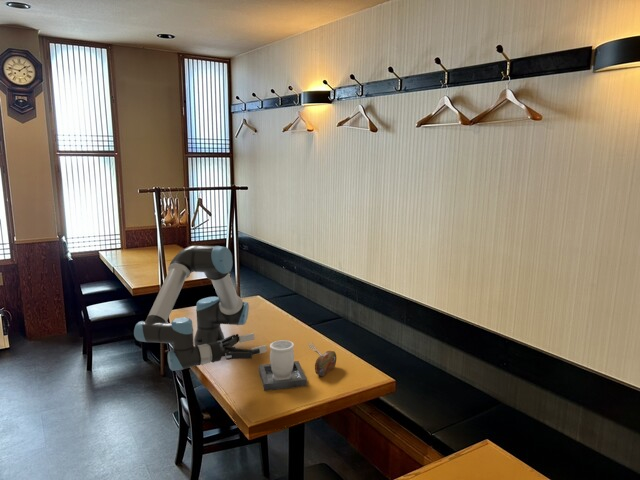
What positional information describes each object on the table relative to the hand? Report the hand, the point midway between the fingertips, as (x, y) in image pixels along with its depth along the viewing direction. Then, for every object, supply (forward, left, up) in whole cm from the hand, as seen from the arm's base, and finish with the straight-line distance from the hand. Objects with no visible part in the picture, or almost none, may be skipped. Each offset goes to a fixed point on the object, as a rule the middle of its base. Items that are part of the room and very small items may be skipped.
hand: (260, 342), depth 190 cm
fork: (-23, +31, -20) cm, 44 cm away
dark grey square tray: (-3, +10, -19) cm, 21 cm away
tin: (-5, +30, -19) cm, 36 cm away
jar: (-3, +10, -18) cm, 21 cm away
